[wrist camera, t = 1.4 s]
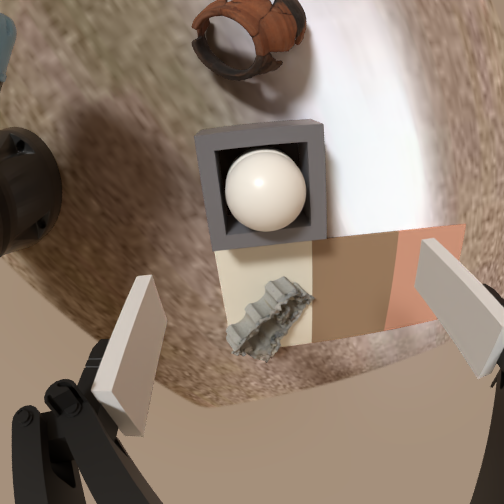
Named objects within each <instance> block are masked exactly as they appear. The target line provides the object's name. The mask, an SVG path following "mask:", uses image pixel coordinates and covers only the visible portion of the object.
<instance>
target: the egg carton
mask: <svg viewBox="0 0 504 504" xmlns="http://www.w3.org/2000/svg"><path fill="white" fill-rule="evenodd" d="M292 296H293V298H294V300H290V299H289V298H290V297H292ZM314 299H315V298H314V297H313V296H312V295H309V294H308V293H307V292H306V291H305V290H304V289H303V288H302V287H301V286H300V285H299V284H298V283H296V282H294V283H293V284H292V283H291V282H290V281H289V280H288V278H286V277H285V276H283V277H281V278H279V279H277V280H274V281H269V282H268V283H267V284H266V285H265V294H264V296H263V297H262V298H261V299H260V300H258V301H257V302H254V303H249V304H248V305H247V306H246V307H245V309H244V310H245V311H246V313H245V316H244V317H243V319H242V320H241V321H239V322H238V323H235V324H231V325H229V326H228V327H227V329H226V333H227V336H226V339H227V341H228V343H229V344H230V346H231V347H232V348H233V350H234V351H233V352H231V353H232V354H235V355H237V356H238V355H239V354H240V355H242V356H245V355H246V353H247V354H248V355H250V356H251V357H253V358H254V359H258V360H259V359H260V360H263V361H264V360H265V362H266V363H267V362H268V360H269V359H270V358H272V357H273V356H274V354H275V353H276V352H278V349H279V347H280V346H281V343H280V340H281V339H282V338H283V337H284V336H286V335H287V334H288V330H289V328H290V327H291V326H292V324H293V323H294V322H296V321H297V320H298V318H299V317H300V315H301V314H302V312H303V309H304V308H306V305H307V304H308V305H309V304H310V303H311V302H312V301H313V300H314Z"/></svg>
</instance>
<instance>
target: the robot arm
mask: <svg viewBox="0 0 504 504" xmlns="http://www.w3.org/2000/svg"><path fill="white" fill-rule="evenodd" d="M15 40H16V27H15V24H14V22H13V21H12V20H11V19H10V18H9V17H8V16H6V15H4V14H2V13H0V91H1V87H2V84H3V82H5V80H6V70H7V66H8V63H9V59H10V56H11V52H12V49H13V46H14V43H15ZM61 201H62V185H61V178H60V174H59V170H58V167H57V164H56V161H55V159H54V157H53V155H52V153H51V151H50V150H49V148H48V147H47V145H46V144H45V143H44V142H43V141H42V140H41V139H40V138H39V137H38V136H37V135H36V134H34V133H33V132H31V131H29V130H27V129H24V128H19V127H10V128H6V129H2V130H0V257H1V256H2V255H5V254H8V253H11V252H14V251H17V250H21V249H24V248H27V247H30V246H32V245H34V244H35V243H37V242H38V241H39V240H40V239H42V238H43V237H44V236H45V235H46V234H47V233H48V232H49V231H50V230H51V228H52V227H53V226H54V224H55V222H56V220H57V218H58V215H59V212H60V208H61ZM414 287H415V289H416V290H417V291H418V292H419V294H420V295H421V296H422V298H423V299H424V301H425V302H426V303H427V305H428V306H429V307H430V309H431V310H432V311H433V313H434V314H435V316H436V317H437V318H438V320H439V321H440V323H441V324H442V325H443V327H444V328H445V330H446V331H447V333H448V334H449V336H450V337H451V338H452V340H453V341H454V343H455V344H456V346H457V347H458V349H459V350H460V352H461V353H462V355H463V356H464V358H465V360H466V361H467V363H468V364H469V366H470V367H471V369H472V370H473V372H474V373H475V375H476V377H477V378H478V379H479V378H481V377H484V376H486V375H488V374H490V373H492V371H493V369H494V367H495V365H496V363H497V364H498V365H499V367H500V370H499V372H498V373H497V375H496V377H495V379H494V381H493V382H492V384H491V387H493V386H494V385H495V383H496V382H497V384H496V393H495V400H494V407H493V414H492V419H491V425H490V430H489V436H488V441H487V445H486V449H485V454H484V458H483V462H482V466H481V469H480V473H479V477H478V480H477V483H476V487H475V490H474V493H473V496H472V500H471V502H470V504H504V299H503V298H501V296H500V295H499V294H498V293H497V292H496V291H495V290H494V289H493V288H491V287H490V286H488V285H486V284H481V283H480V282H479V281H478V280H477V279H476V278H475V277H474V276H473V275H472V274H471V273H470V272H469V271H468V270H467V269H466V268H465V267H464V266H463V265H462V264H461V263H460V262H459V261H458V260H457V259H456V258H455V257H454V256H453V255H452V254H451V253H450V252H449V251H448V250H447V249H446V248H445V247H443V246H442V245H441V244H440V243H439V242H438V241H437V240H436V239H435V238H429V239H422V240H421V247H420V254H419V261H418V267H417V273H416V279H415V285H414ZM166 325H167V318H166V315H165V312H164V309H163V306H162V303H161V300H160V297H159V294H158V291H157V288H156V285H155V282H154V279H153V276H152V274H151V275H143V276H137V277H136V279H135V281H134V284H133V286H132V288H131V290H130V293H129V295H128V297H127V299H126V302H125V304H124V306H123V309H122V311H121V313H120V316H119V318H118V321H117V323H116V325H115V328H114V330H113V333H112V335H111V338H110V339H101V340H100V341H99V342H98V343H97V344H96V345H95V346H94V347H93V349H92V351H91V353H90V356H89V360H88V361H87V363H86V365H85V366H86V368H84V370H83V373H82V375H81V378H80V380H79V383H78V385H76V384H75V383H74V381H72V380H69V379H62V380H59V381H56V382H55V383H54V384H52V385H51V386H50V387H49V388H48V389H47V391H46V393H45V396H44V400H45V403H46V404H47V406H48V407H49V408H50V409H51V411H50V412H45V413H40V412H39V411H38V410H37V408H36V407H34V406H31V405H29V406H24V407H22V408H20V409H19V410H18V411H17V412H16V414H15V415H14V417H13V421H12V471H13V485H14V486H13V487H14V497H15V504H86V501H85V497H84V492H83V488H82V484H81V479H80V474H79V470H80V472H81V474H82V476H83V478H84V480H85V482H86V484H87V486H88V488H89V490H90V492H91V494H92V496H93V497H94V499H95V501H96V503H97V504H163V503H162V502H161V500H160V499H159V498H158V496H157V495H156V494H155V492H154V491H153V490H152V488H151V487H150V485H149V484H148V483H147V481H146V480H145V479H144V477H143V476H142V474H141V473H140V471H139V470H138V468H137V467H136V466H135V464H134V462H133V461H132V459H131V458H130V456H129V455H128V453H127V452H126V450H125V449H124V447H123V445H122V444H121V442H120V440H119V439H118V438H117V437H116V435H117V431H118V428H119V429H120V431H121V432H122V433H123V434H124V435H125V436H141V437H143V436H144V430H145V425H146V419H147V414H148V409H149V404H150V399H151V394H152V388H153V384H154V379H155V374H156V370H157V365H158V360H159V356H160V351H161V347H162V343H163V338H164V334H165V330H166ZM78 468H79V469H78Z"/></svg>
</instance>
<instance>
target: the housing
mask: <svg viewBox="0 0 504 504" xmlns="http://www.w3.org/2000/svg"><path fill="white" fill-rule="evenodd" d="M194 139H195V146H196V152H197V159H198V166H199V172H200V178H201V185H202V191H203V197H204V203H205V209H206V215H207V221H208V227H209V233H210V239H211V244H212V250H213V251H221V250H230V249H239V248H248V247H257V246H266V245H275V244H284V243H293V242H303V241H312V240H321V239H327V214H326V169H325V144H324V126H323V124H322V123H320V122H317V121H314V120H312V119H303V120H287V121H274V122H263V123H252V124H243V125H234V126H226V127H218V128H210V129H203V130H200V131H199V132H198V133H197V134H196V135H195V136H194ZM295 142H298V152H299V168H300V171H301V173H302V175H303V177H304V180H305V184H306V199H305V203H304V206H303V208H302V210H301V212H300V214H299V215H298V216H297V218H296V219H295V220H294V221H293V222H292V223H290V224H289V225H287V226H286V227H284V228H281V229H279V230H275V231H268V232H263V231H256V230H253V229H250V228H248V227H246V226H245V225H243V224H241V223H240V222H239V221H238V220H237V219H236V218H235V217H234V216H233V215H229V216H227V209H226V202H225V194H224V187H223V180H222V173H221V165H220V158H219V150H224V149H233V148H241V147H250V146H260V145H271V144H282V143H295Z"/></svg>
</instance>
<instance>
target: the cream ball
mask: <svg viewBox="0 0 504 504" xmlns="http://www.w3.org/2000/svg"><path fill="white" fill-rule="evenodd" d="M225 195H226V201H227V204H228V207H229V209H230V211H231V213H232V214H233V216H234V217H235V218H236V219H237V220H238V221H239V222H240V223H241V224H243V225H245V226H246V227H248V228H250V229H253V230H256V231H263V232H268V231H275V230H279V229H281V228H284V227H286V226H287V225H289V224H290V223H292V222H293V221H294V220H295V219H296V218H297V216H298V215H299V214H300V212H301V210H302V208H303V206H304V203H305V199H306V184H305V180H304V177H303V175H302V173H301V171H300V169H299V168H298V167H297V165H296V164H295V163H294V162H293V160H292V159H291V158H290V157H289V156H288V155H287V154H286V153H284V152H283V151H281V150H279V149H276V148H273V147H267V146H259V147H254V148H251V149H248V150H246V151H244V152H243V153H241V154H240V155H239V156H237V157H236V159H235V160H234V161H233V162H232V164H231V166H230V167H229V170H228V173H227V178H226V187H225Z"/></svg>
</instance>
